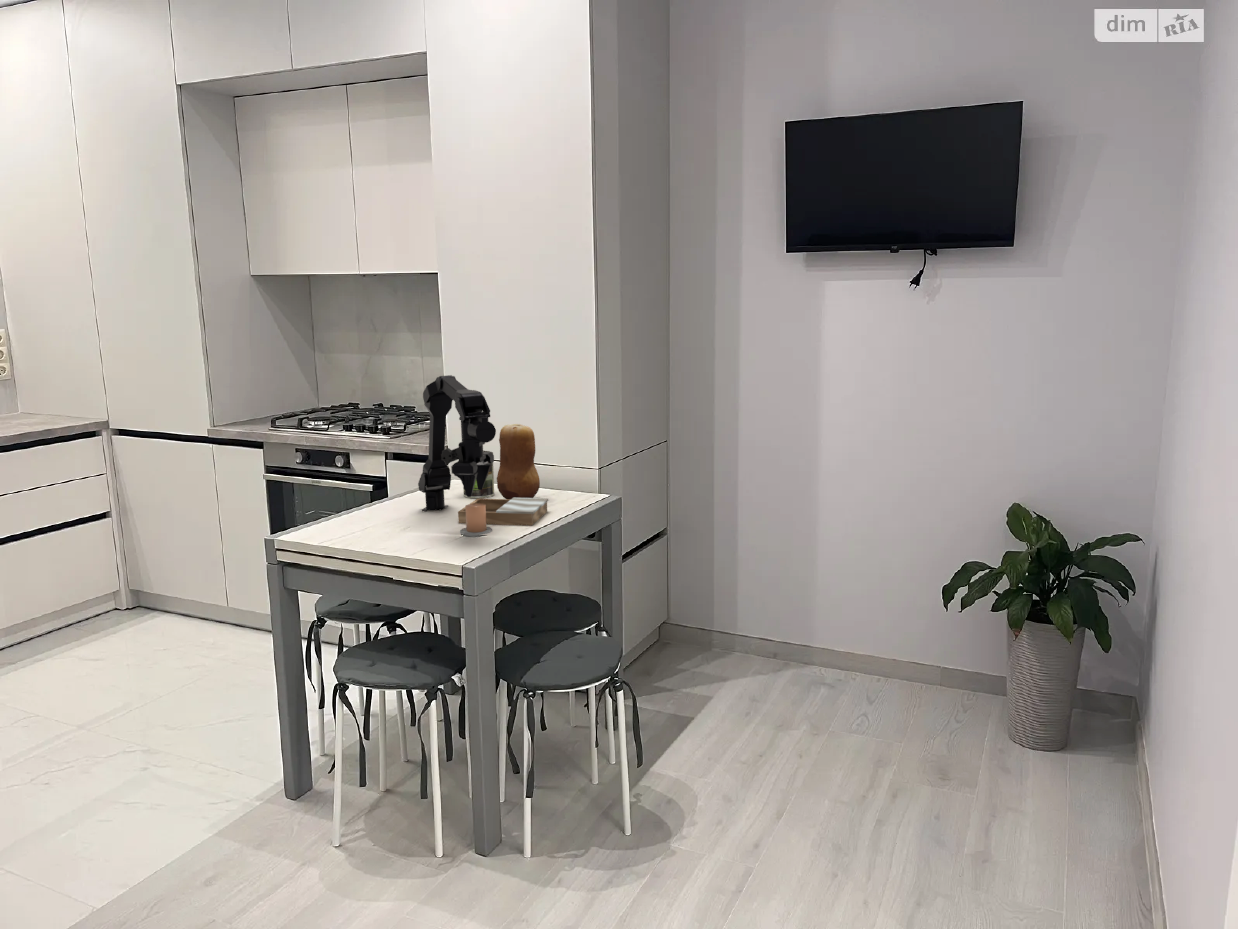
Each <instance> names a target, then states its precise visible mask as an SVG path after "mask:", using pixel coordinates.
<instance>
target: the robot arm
mask: <svg viewBox="0 0 1238 929" xmlns="http://www.w3.org/2000/svg"><path fill="white" fill-rule="evenodd" d="M422 398H423V402H424V406H425V408H426V410H427V411H428V413H429V429H428V431H429V433H428V457H427V458H428V459H427V460H426V461H425V462H424V464H423V466H422V473H421V474H420V477H419V480H418V483H417V487H418V490H419V491H420V492H422V493H423V494H425V507H424V508H422V509H421V512H429V511H439V512H440V511H443V510H445V509H446V508H448V507H449V505H447V504H445V491H446V490H450V488H451V483H452V482H451V481H452V474H453V475H454V476H455V477H457V478H459V479H460V481H461V484H462V488H463V487H464V489H465V492H466V495H467V497H471V496H472V492H473V489H474V485H475V481H477V486H478V490H482V489H483V486H484V484H485V481H486V478H487V476H488V473H489V471H490V469H491V466H492V463H493V464H494V462H495V455H494V453H493V454H492V453H491V452H492V451H490V452H483V451H484V445H485V444H486V443H490V442H491V441H493V440H494V439H495V437H496V434H497V430H496V427H495V425H494V424H493V422H490V421H489V418H491V409H490V406H489V405H488V403H487V400H486V398H485V396H484V395H483V393H482V392H481V391H478V390H476V389H469V388H467V387H466V386H465V385H463V384H462V383H461V382H459V381H458V380H457V379H456V376H455V375H452V374H450V375H440V376H437V377H436V378H435V380H434V381H432V382H430V383H428V385H426V386H425V388H424V390H423V392H422ZM453 401H454V406H455V407H454V408H455V409H456V411H457V413H458V415H459V418H458V420H459V421H460V431H461V433H460V434H461V436H460V437H461V441H460V442H458V447H456V448H453V449H451V448H449V447H448V448H446V421H447V415H448V414H449V412H450V411H451V409H452V407H453ZM454 461H457V462H454ZM452 462H454V463H453V464H452V465H451V466H450V467H451V469H450V467H449V466H448V465H449V464H450V463H452ZM488 462H489V463H488ZM464 489H463V490H464ZM467 497H466V498H467Z"/></svg>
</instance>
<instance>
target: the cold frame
mask: <svg viewBox="0 0 1238 929" xmlns="http://www.w3.org/2000/svg"><path fill="white" fill-rule="evenodd" d="M548 501H550V500H549V498H547V497H546V498H545V497H542V498H540V497H534V498H512V499H505V498H475V499H474V500H473V501H472V502H470V503H469V504H474V503H481V504H485V505H486V525H495V526H496V525H497V526H498V525H499V526H501V525H502V526H503V525H504V526H505V525H506V526H507V525H508V526H527V527H528V526H529V527H531V526H533V525H534V524H535V523H536V522H538V521H539V520H540V519H541V518H542V517H543V516H544V515H546V513H548ZM457 517H458V518H457V520H458V524H465V525H466V509H465V506H464V507H463V508H461V509H460V510H458V511H457Z"/></svg>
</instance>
